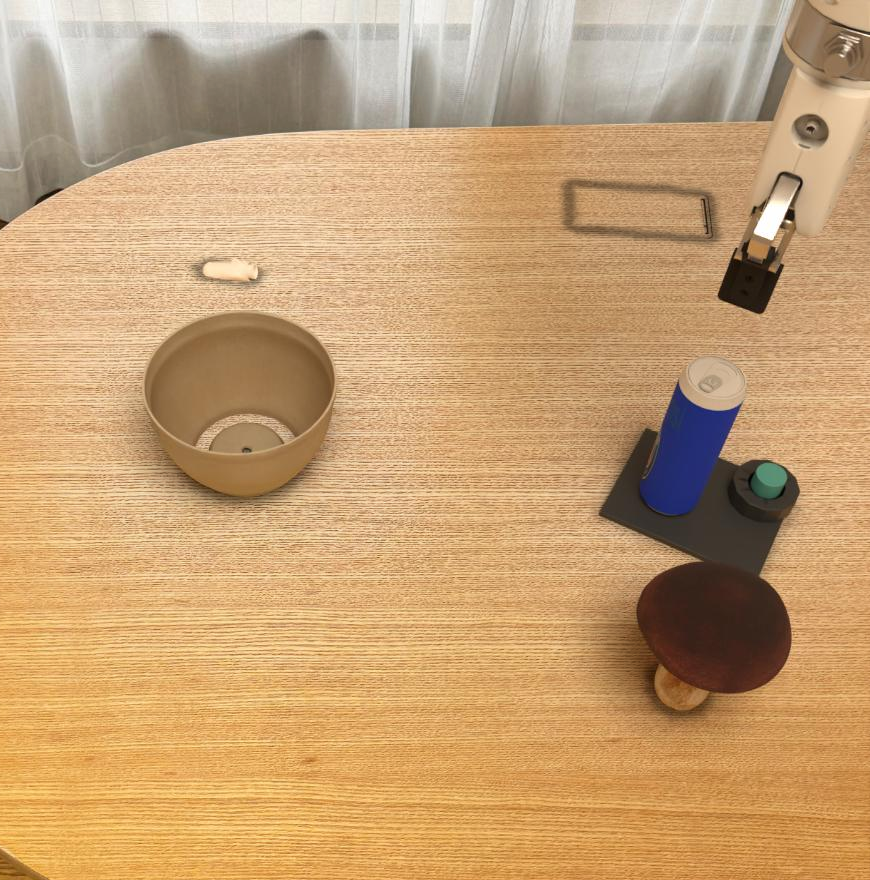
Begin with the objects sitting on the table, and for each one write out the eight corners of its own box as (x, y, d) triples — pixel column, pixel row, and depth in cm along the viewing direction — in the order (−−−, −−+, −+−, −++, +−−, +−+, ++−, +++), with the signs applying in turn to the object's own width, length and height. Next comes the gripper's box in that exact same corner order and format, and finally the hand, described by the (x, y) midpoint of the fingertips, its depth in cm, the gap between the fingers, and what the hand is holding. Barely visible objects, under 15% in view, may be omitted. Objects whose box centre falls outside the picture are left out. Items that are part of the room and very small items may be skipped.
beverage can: (661, 462, 104) (708, 342, 92) (709, 495, 102) (763, 377, 90) (625, 494, 102) (668, 375, 90) (674, 529, 100) (724, 412, 87)
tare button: (784, 482, 101) (791, 470, 100) (775, 503, 100) (782, 491, 98) (755, 470, 102) (761, 458, 100) (745, 491, 100) (752, 478, 99)
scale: (793, 499, 104) (807, 475, 101) (754, 592, 98) (767, 569, 95) (642, 437, 108) (651, 412, 105) (596, 523, 102) (604, 498, 99)
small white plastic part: (217, 258, 121) (215, 234, 118) (263, 283, 119) (261, 259, 116) (194, 277, 119) (192, 254, 117) (240, 302, 117) (239, 279, 115)
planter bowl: (231, 369, 112) (223, 283, 103) (370, 446, 107) (375, 362, 98) (118, 476, 104) (100, 393, 95) (262, 564, 99) (257, 486, 90)
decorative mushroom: (594, 639, 95) (635, 532, 83) (726, 632, 96) (786, 525, 84) (623, 764, 89) (672, 668, 77) (764, 755, 90) (835, 659, 77)
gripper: (884, 130, 61) (778, 361, 75) (960, -25, 69) (852, 208, 83) (745, 86, 63) (666, 319, 77) (835, -60, 71) (750, 173, 85)
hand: (763, 261), depth 80 cm, fingers open, 9 cm apart
